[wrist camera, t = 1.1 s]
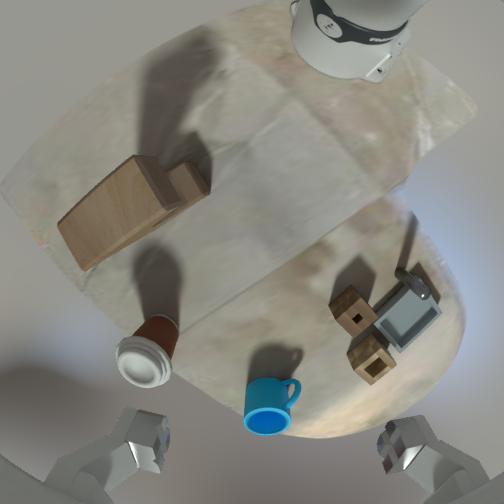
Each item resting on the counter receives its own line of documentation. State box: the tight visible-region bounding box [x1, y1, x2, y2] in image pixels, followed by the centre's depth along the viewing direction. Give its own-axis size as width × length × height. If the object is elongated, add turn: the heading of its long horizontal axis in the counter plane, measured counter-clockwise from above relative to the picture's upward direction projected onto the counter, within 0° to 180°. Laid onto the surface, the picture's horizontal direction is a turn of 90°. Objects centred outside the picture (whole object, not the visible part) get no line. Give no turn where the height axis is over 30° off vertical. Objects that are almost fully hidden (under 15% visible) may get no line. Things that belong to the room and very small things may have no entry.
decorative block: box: [57, 155, 210, 271], centre depth 31 cm, size 11×6×20 cm, turn 119°
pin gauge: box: [395, 267, 431, 300], centre depth 38 cm, size 2×2×9 cm
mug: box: [244, 377, 301, 435], centre depth 45 cm, size 12×8×8 cm
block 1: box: [328, 285, 378, 338], centre depth 42 cm, size 5×5×5 cm
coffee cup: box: [115, 314, 179, 388], centre depth 41 cm, size 9×9×12 cm
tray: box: [373, 274, 442, 353], centre depth 43 cm, size 11×10×2 cm
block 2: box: [347, 333, 397, 385], centre depth 44 cm, size 6×6×5 cm
